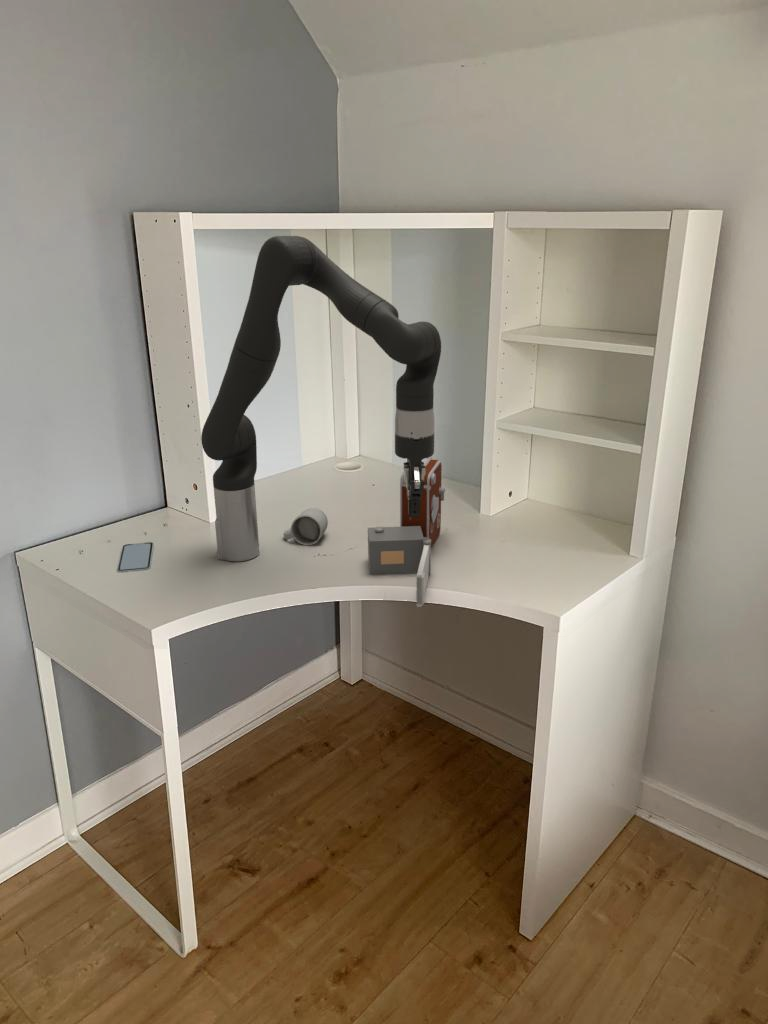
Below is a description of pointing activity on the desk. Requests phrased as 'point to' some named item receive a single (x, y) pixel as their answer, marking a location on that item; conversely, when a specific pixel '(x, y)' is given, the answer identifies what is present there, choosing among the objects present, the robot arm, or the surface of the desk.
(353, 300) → the robot arm
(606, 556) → the desk surface
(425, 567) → the side door
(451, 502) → the desk surface
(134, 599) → the desk surface
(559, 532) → the desk surface
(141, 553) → the smartphone
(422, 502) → the cine camera
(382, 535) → the block
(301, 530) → the ceramic mug
